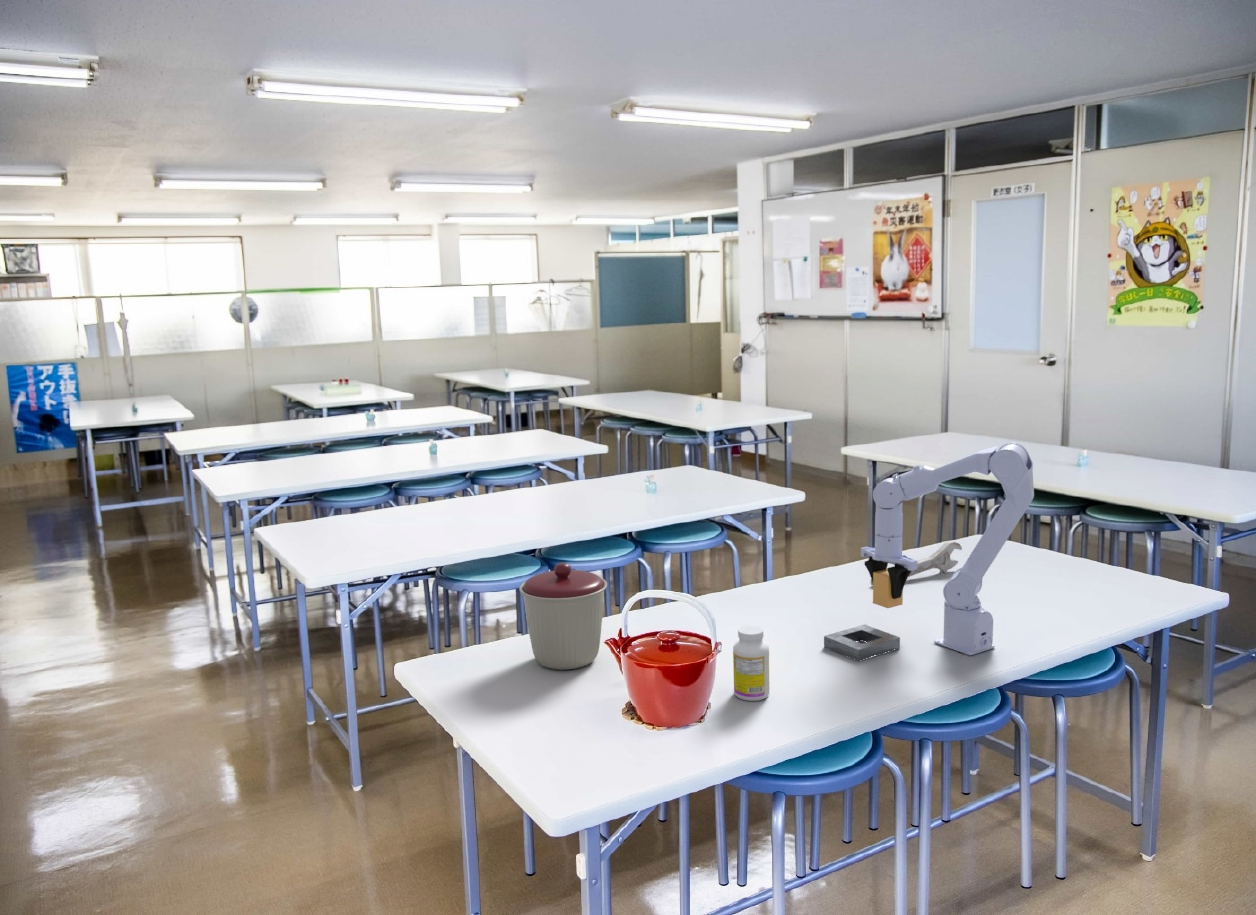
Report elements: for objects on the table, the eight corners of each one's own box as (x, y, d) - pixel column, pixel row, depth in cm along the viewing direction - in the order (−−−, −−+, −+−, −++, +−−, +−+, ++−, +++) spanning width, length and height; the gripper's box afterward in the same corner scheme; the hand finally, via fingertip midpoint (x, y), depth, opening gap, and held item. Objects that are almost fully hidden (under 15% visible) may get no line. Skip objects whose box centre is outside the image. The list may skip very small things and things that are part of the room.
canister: (593, 640, 211) (589, 547, 207) (622, 668, 194) (619, 568, 191) (513, 653, 205) (508, 558, 201) (536, 684, 188) (531, 580, 184)
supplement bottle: (746, 685, 184) (745, 621, 182) (775, 693, 180) (775, 628, 178) (726, 696, 179) (726, 631, 177) (757, 705, 175) (756, 638, 173)
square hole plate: (899, 648, 200) (899, 637, 200) (858, 661, 194) (858, 649, 194) (864, 635, 209) (864, 624, 208) (824, 647, 203) (824, 636, 202)
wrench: (871, 597, 244) (958, 566, 256) (876, 599, 242) (963, 568, 255) (868, 567, 242) (956, 538, 255) (873, 569, 241) (961, 539, 253)
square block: (902, 604, 207) (903, 573, 206) (888, 608, 205) (888, 577, 204) (887, 599, 211) (887, 568, 210) (872, 603, 209) (873, 572, 208)
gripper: (850, 530, 210) (850, 590, 212) (901, 543, 197) (900, 607, 200) (874, 525, 213) (873, 584, 215) (925, 538, 201) (923, 600, 203)
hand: (887, 594), depth 208 cm, fingers closed on square block, 4 cm apart
